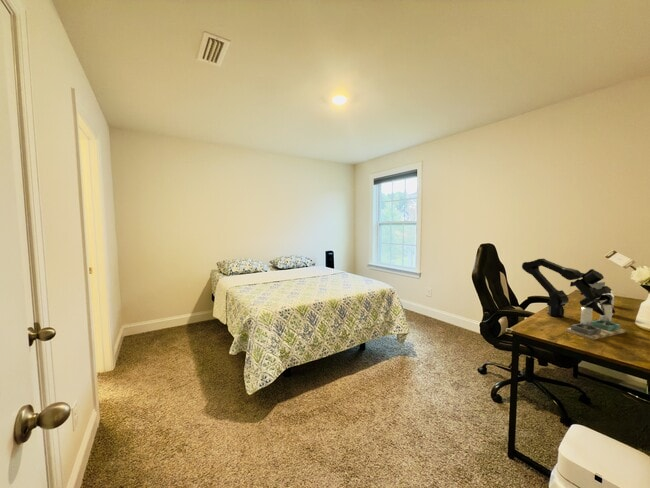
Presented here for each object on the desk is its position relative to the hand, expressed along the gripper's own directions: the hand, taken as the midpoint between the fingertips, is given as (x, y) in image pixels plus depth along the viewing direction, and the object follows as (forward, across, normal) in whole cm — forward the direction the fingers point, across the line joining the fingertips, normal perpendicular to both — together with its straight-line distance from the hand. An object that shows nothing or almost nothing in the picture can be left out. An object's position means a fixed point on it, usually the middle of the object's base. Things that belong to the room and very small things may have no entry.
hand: (609, 314), depth 149 cm
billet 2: (+4, 0, +6) cm, 8 cm away
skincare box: (-18, +54, +31) cm, 65 cm away
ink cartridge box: (-6, +32, +19) cm, 38 cm away
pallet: (+5, -8, +7) cm, 12 cm away
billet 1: (+5, -16, +7) cm, 18 cm away
